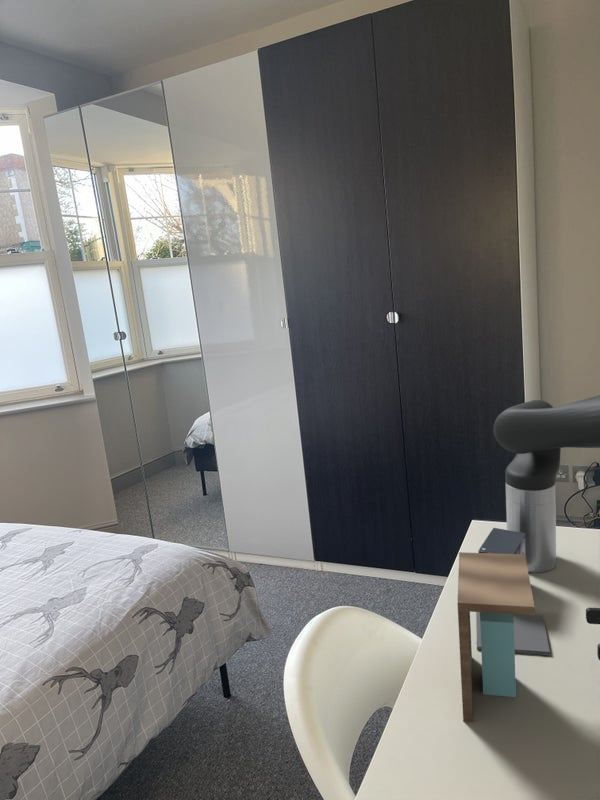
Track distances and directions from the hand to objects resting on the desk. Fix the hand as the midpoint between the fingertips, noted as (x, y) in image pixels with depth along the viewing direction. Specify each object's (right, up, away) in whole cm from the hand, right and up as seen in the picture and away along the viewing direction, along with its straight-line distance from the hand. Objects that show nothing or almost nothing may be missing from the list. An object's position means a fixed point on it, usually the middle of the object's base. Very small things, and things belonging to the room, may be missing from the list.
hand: (591, 633), depth 84 cm
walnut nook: (-11, -10, +5) cm, 16 cm away
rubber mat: (-5, -7, +17) cm, 19 cm away
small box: (-2, -4, +30) cm, 30 cm away
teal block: (-11, -10, +6) cm, 16 cm away
